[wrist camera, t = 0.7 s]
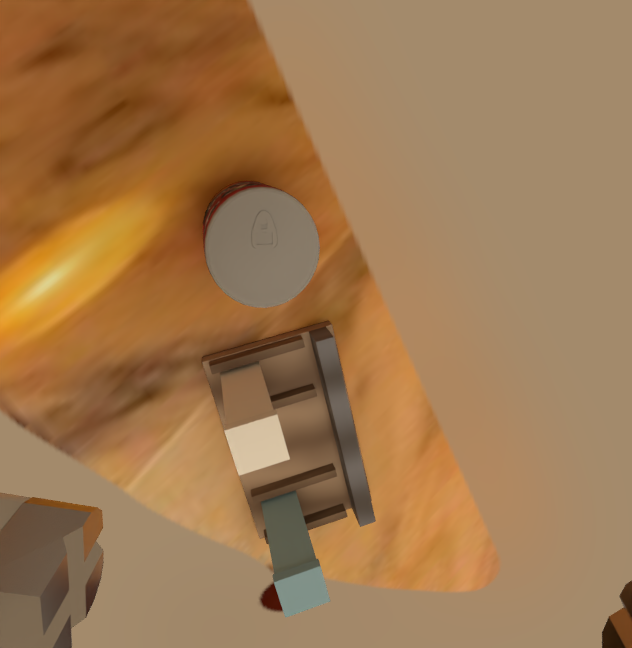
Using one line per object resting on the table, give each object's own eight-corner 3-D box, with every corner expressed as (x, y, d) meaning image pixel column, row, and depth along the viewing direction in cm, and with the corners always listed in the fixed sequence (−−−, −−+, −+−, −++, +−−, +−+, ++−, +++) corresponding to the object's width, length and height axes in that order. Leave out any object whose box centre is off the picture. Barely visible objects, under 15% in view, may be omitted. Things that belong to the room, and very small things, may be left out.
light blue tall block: (258, 498, 51) (273, 582, 41) (295, 485, 51) (320, 565, 41) (268, 528, 52) (285, 617, 42) (304, 516, 53) (330, 601, 42)
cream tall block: (217, 371, 46) (224, 430, 36) (259, 358, 46) (277, 414, 36) (229, 408, 47) (238, 475, 37) (270, 395, 48) (290, 459, 38)
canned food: (277, 169, 43) (302, 172, 33) (303, 259, 46) (334, 288, 36) (188, 195, 43) (185, 207, 32) (220, 286, 45) (227, 323, 35)
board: (201, 357, 47) (202, 375, 43) (328, 320, 48) (340, 335, 45) (258, 531, 54) (263, 560, 50) (368, 493, 55) (381, 519, 51)
